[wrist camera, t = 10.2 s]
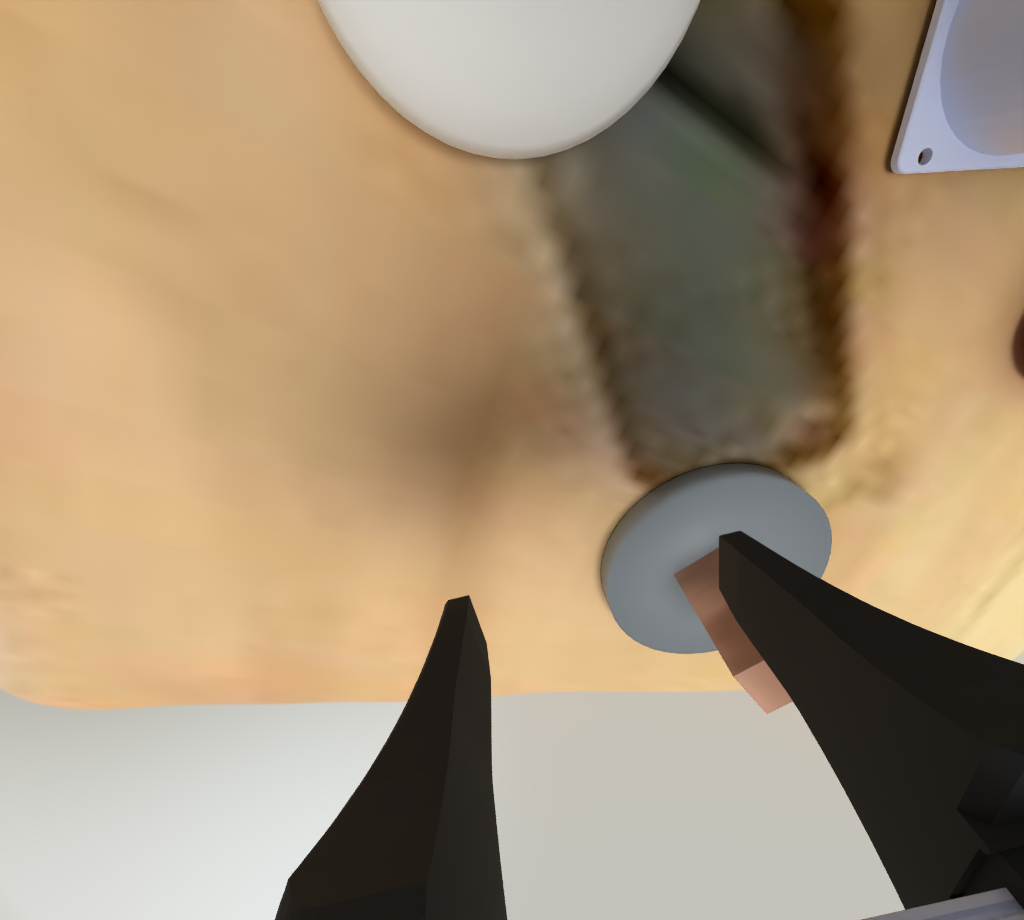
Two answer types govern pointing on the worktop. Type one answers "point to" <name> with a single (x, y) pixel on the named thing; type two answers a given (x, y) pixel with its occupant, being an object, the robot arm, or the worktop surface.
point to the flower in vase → (510, 65)
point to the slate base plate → (702, 545)
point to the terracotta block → (729, 633)
